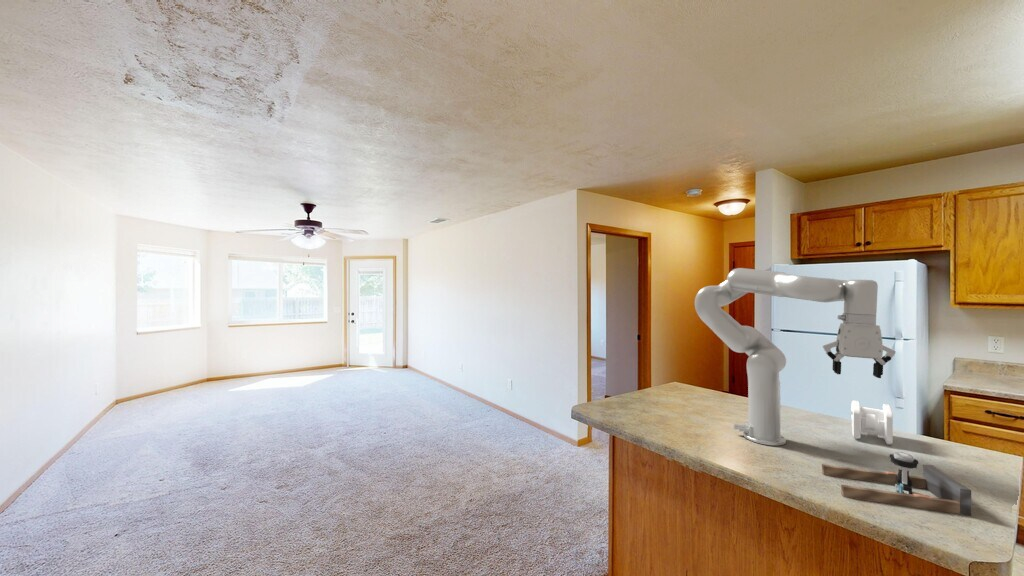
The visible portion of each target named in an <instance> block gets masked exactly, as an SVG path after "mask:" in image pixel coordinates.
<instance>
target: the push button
mask: <svg viewBox="0 0 1024 576" xmlns="http://www.w3.org/2000/svg"><path fill="white" fill-rule="evenodd" d="M889 458H890V462H891V463H892V464H894V465H895V466H897V467H898V472H897V473H898V476H896V477H895V481H896V483H897V484H894V485H895V486H894V487H895V491H898V493H905V494H912V495H913V487H911V485H912V480H911V479H910V477H909V476H910V471H909V470H913V469H917V468H918V465H919V460H918V459H916V458H914V456H913V455H912V454H910V453H906V452H902V451H894V452H893V453H891V454H889Z"/></svg>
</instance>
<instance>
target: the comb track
mask: <svg viewBox="0 0 1024 576" xmlns="http://www.w3.org/2000/svg"><path fill="white" fill-rule="evenodd" d="M821 473H822V475H824V476H829V477H830V476H831V477H836V478H837V477H838V478H844V479H850V480H851V479H852V480H860V481H867V482H876V483H881V484H888V485H889V484H890V485H895V484H897V483H896V481H895V477H896V476H898V473H899V472H895V471H886V470H885V472H884V471H878V470H876V471H875V470H870V469H869V470H868V469H861V468H854V467H847V466H846V467H845V466H838V465H831V464H821ZM909 477H910V479H911V480H912V485H911V487H912V488H919V489H926V490H927V491H928V492H930V493H931V494H932V495H933V496H934V497H932V496H930V495H927V494H920V493H913V492H912V494H905V493H899V491H890V490H889V491H888V490H882V489H874V488H869V487H861V486H853V485H848V484H841V485H840V488H841V489H840V493H841V496H842V497H844V498H849V499H850V498H852V499H858V500H864V501H871V502H876V503H877V502H879V503H884V504H892V505H898V506H905V507H912V508H918V509H925V510H931V511H938V512H946V513H952V514H958V515H959V514H960V515H965V516H972V489H971V488H968V487H967V486H966V485H964V484H962V483H961V482H959V481H958V480H956V479H955V478H953V477H952V476H950V475H949V474H947V473H945V472H944V471H942V470H941V469H939V468H937V467H936V466H934V465H933V464H926V463H925V464H924V463H923V464H922V476H917V475H909Z"/></svg>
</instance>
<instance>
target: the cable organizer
mask: <svg viewBox="0 0 1024 576" xmlns="http://www.w3.org/2000/svg"><path fill="white" fill-rule="evenodd" d="M850 416H851V431H852V432H851V433H852V437H853V439H856V440H861V435H863V436H868V435H872V436H876V437H877V438H878V439H884V442H885V444H886V445H887V446H890V445H893V442H894V441H893V439H894V437H893V436H894V433H893V431H894V425H893V424H894V423H893V422H894V419H893V418H894V416H893V412H892V409H891V406H890V404H888V403H887V404H885V403H883V404H882V409H879V408H872V407H864V406H861V404H860V401H858V400H854V399H853V400H852V401H851V402H850Z"/></svg>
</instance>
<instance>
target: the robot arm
mask: <svg viewBox="0 0 1024 576" xmlns="http://www.w3.org/2000/svg"><path fill="white" fill-rule="evenodd" d="M878 287H879V286H878V282H877V281H875V280H872V279H848V280H845V279H844V280H843V279H835V278H828V277H826V278H825V277H814V276H806V275H805V276H803V275H796V274H790V273H786V272H783V271H774V270H764V269H756V268H755V269H754V268H753V269H752V268H745V267H737V268H733V269H731V271H730V272H729V273H728V274H727V276H726V280H725V281H723V282H721V283H719V284H718V285H707V286H704V287H702V288H701V289H699V290H698V292H697V293H696V294H695V297H694V307H695V308H694V309H695V312H696V314H697V316H698V317H699V318H700V320H701V321H702V322H703V323H704V324H705V325H706V326H707V327H708V328H709V329H710V330H711V331H712V332H713V333H714V334H715V335H716V336H717V337H718V338H719V339H720V340H721V341H722V343H724V344H725V345H726V346H727V347H728V348H729V349H730V350H731V351H733V352H735V353H740V354H742V353H743V354H744V353H745V354H746V355H747V356H748V358H747V360H746V374H747V387H748V388H747V389H748V390H747V391H748V392H747V393H748V394H747V398H748V401H747V403H748V405H747V406H748V407H747V408H748V409H747V410H748V411H747V414H748V415H747V418H748V419H747V421H746V422H745V423H743V424H739V423H733V428H732V429H733V430H738V432H742V433H743V434H742V435H743V437H744V438H745V439H747V440H749V441H750V442H754V443H757V444H760V445H766V446H772V447H773V446H777V447H778V446H783V445H785V444H786V442H787V440H786V438H785V437H784V436H783V435H781V382H780V372H781V371H783V370H784V369H785V367H786V365H787V358H786V356H785V354H784V353H783V351H782V350H780V348H779V347H778V346H776V345H775V344H774V343H773V342H772V341H770V339H769V338H767V337H766V336H765V335H764V334H763V333H762V332H760V331H759V330H758V329H756V328H755V327H752V326H749V325H741V324H740V322H738V321H737V320H736V319H734V318H733V316H731V315H730V314H729V313H727V312H726V311H725V310H724V309H723V308H722V307H725V306H728V305H729V304H732V303H734V301H736V300H738V299H740V298H741V297H743V296H745V295H746V294H748V293H751V294H758V295H766V296H772V297H779V298H790V299H795V300H803V301H804V300H805V301H810V302H811V301H812V302H816V303H832V302H843V313H842V314H840V315H839V314H838V315H837V320H840V321H842V322H840V324H839V327H838V331H837V334H836V335H837V336H836V340H835V341H833V342H830V343H827V344H825V345H822V348H823V350H824V351H825V354H826V355H827V356H828V357H829V358H830V359H831V360H832V371H833V372H834V373H835V374H836V375H841V374H842V361H841V360H842V359H843V358H844V357H847V358H860V359H861V358H862V359H871V360H873V361H874V363H872V364H873V365H872V366H873V367H872V369H873V370H872V371H873V372H872V376H874V377H875V378H877V379H882V376H883V374H884V366H885V365H886V364H887V363H888V362H890V361H891V360H892V358H893V357H894V356H895V355H896V351H895V350H893V349H892V348H890V347H887V346H885V345H884V344H883V337H882V336H883V335H882V330H881V326H880V325H877V310H878V289H879V288H878ZM833 348H835V353H833V352H832V350H831V349H833ZM883 352H885V355H883V354H884V353H883Z"/></svg>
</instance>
